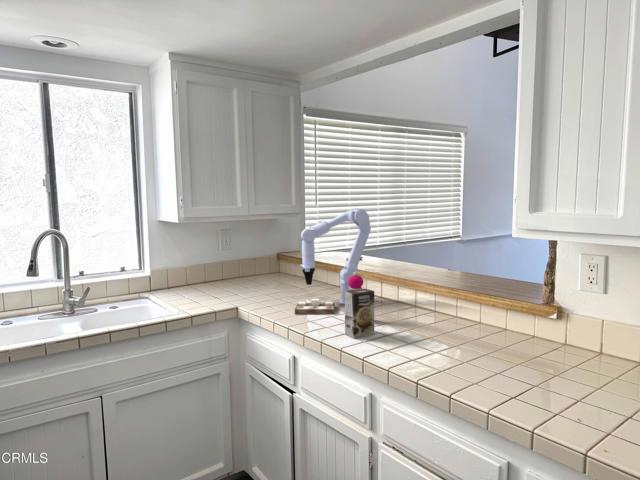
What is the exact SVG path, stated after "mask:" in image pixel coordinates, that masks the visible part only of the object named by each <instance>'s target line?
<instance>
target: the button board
mask: <svg viewBox="0 0 640 480" xmlns="http://www.w3.org/2000/svg"><path fill="white" fill-rule="evenodd" d="M325 303H326V302H319V306H312V302H306V306H298V302H297V303H296V306H295V308H294V315H335V311H336V302H333V306H325Z"/></svg>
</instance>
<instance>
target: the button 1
mask: <svg viewBox="0 0 640 480" xmlns="http://www.w3.org/2000/svg"><path fill="white" fill-rule="evenodd" d="M297 303H298V306H306V303H307V301H298V302H297Z"/></svg>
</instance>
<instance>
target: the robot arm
mask: <svg viewBox="0 0 640 480" xmlns="http://www.w3.org/2000/svg"><path fill="white" fill-rule="evenodd" d="M345 222H353V223H354V224H355V226H356V227H357V229H358V233H357V234H356V238H355V241H354V243H353V245H352V248H351V251H350V252H349V253H350V254H349V257H348V259H347V262H346V263H345V264H344V266H343V268H342V269H341V270H340V271H339V277H340V278H339V279H341V280H340V299H339V304H340V305H345V291H349V290H350V286H349V284H348V280H349V278H350V277H351V276H354V274H353V273H354V272H357V273H358V271H359V269H358V266H359V263H360V261H361V258H362V255H363V253H364V249H365V247H366V244H367V241H368V238H369V236H370V233H371V231H372V229H371V223H370V215H369V214H368V212H367V211H366V210H365V209H364V208H357V207H356V208H353V209H351V210H347V211H345V212H343V213H341V214H339V215H336V217H334V218H332V219H329V220H328V221H325V220H319V221H318V223H316V224H314V225H312V226H311V225H309V227H308V228H304V229H303V230H302V231H301V232H300V233H301V234H300V238H301V240H302V241H301V255H302V256H301V259H302V260H301V261H302V264H300V265H299V267H302V269H301V270H302V274H303V276H304V279H305V283H306V285H308V286H312V283H313V277H314V274H315V271H316V268H315V267H316V260H315V259H316V258H315V257H316V256H315V255H316V254H315V253H316V252H315V239H318V238H319V237H321V236H324V235H326V234H328V233H330V230H331V228H333V227H335V226H338V225H340V224H343V223H345Z"/></svg>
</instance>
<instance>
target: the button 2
mask: <svg viewBox="0 0 640 480" xmlns="http://www.w3.org/2000/svg"><path fill="white" fill-rule="evenodd" d="M324 303H325V306H333V303H334V301H325V302H324Z"/></svg>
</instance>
